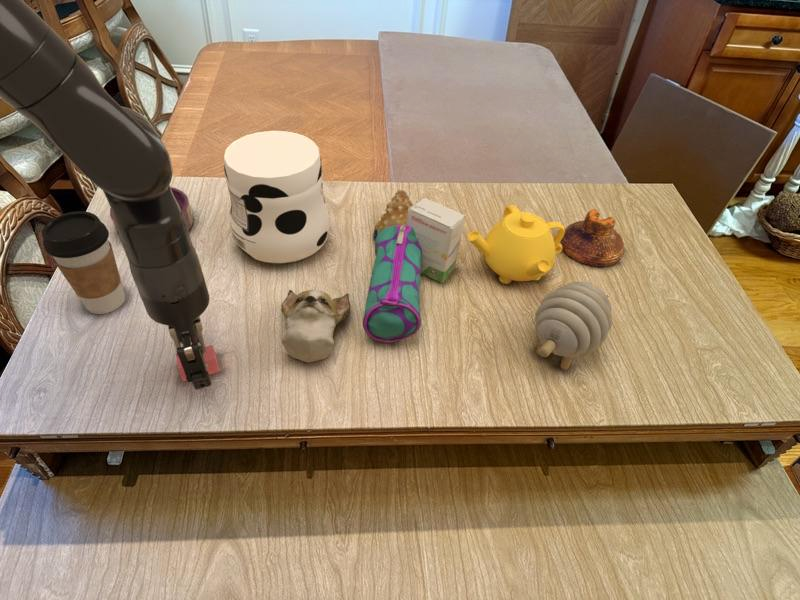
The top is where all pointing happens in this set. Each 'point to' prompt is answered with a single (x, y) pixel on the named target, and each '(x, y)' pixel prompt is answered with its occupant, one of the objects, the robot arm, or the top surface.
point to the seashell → (395, 211)
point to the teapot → (519, 246)
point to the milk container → (276, 196)
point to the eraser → (209, 359)
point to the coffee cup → (85, 259)
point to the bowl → (181, 201)
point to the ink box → (436, 237)
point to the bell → (593, 241)
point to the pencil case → (394, 286)
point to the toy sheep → (572, 321)
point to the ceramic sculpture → (312, 323)
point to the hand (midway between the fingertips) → (199, 363)
